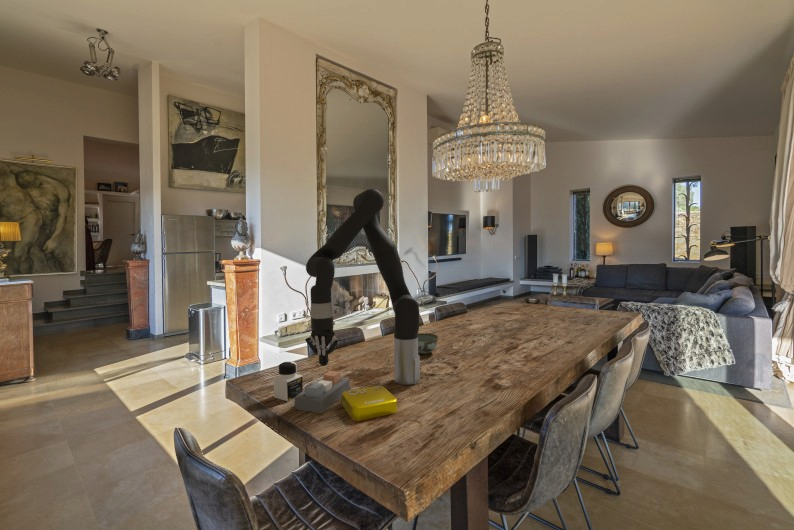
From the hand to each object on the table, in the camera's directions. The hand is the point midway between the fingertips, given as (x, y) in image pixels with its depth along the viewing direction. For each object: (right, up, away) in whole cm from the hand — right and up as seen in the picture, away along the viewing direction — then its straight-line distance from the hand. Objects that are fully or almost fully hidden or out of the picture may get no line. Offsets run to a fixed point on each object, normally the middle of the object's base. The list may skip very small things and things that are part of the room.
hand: (323, 365), depth 133 cm
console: (0, -12, +1) cm, 12 cm away
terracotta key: (+2, -8, +6) cm, 10 cm away
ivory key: (0, -10, +1) cm, 10 cm away
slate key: (-2, -9, -5) cm, 10 cm away
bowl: (+38, -8, +54) cm, 67 cm away
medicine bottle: (-13, -12, +4) cm, 18 cm away
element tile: (+16, -13, -6) cm, 21 cm away
